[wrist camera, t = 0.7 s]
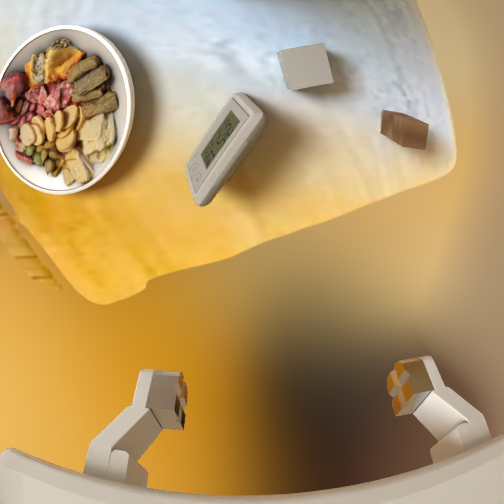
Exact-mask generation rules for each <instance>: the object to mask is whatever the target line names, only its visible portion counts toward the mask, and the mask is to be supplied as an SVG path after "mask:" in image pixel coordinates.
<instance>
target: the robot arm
mask: <svg viewBox="0 0 504 504" xmlns="http://www.w3.org/2000/svg"><path fill="white" fill-rule="evenodd" d="M394 368H395V370H393V371H392V372H391V373H390V374H389V376H388V379H387V388H388V392H389V394H390V395H391V396H392V397H394V398H393V401H392V405H393V409H394V412H395V415H396V416H400V415H405V414H410V413H413V414H414V415H415V416H416V417H417V418H418V420H420V422H421V423H422V424H423V425H424V426H425V427H426V428H427V429H428V430H429V431H430V432H431V433H432V434H433V435H434V436H435V437H436V439H437V440H438V441H439V442H438V443H437V444H435V445H434V446H433V447H432V448H431V450H430V452H431V456H432V460H433V464H432V465H429V466H426V467H423V468H420V469H417V470H413V471H410V472H407V473H404V474H400V475H396V476H392V477H388V478H385V479H381V480H376V481H372V482H367V483H363V484H358V485H353V486H348V487H342V488H335V489H329V490H322V491H314V492H305V493H294V494H281V495H259V496H227V495H226V496H225V495H204V494H191V493H181V492H173V491H165V490H158V489H151V488H147V479H148V472H147V470H146V469H145V468H144V467H142V466H141V465H140V464H139V463H138V462H137V461H138V460H139V459H140V457H141V456H142V455H143V454H144V452H145V451H146V450H147V449H148V447H149V446H150V445H151V444H152V443H153V441H154V440H155V439H156V438H157V436H158V435H159V434H160V432H161V431H162V429H173V430H184V424H185V413H184V410H183V408H184V407H185V406H186V405H187V386H186V383H185V382H183V378H184V376H183V373H182V372H177V371H176V372H175V371H162V370H152V369H142V370H141V372H140V374H139V378H138V382H137V386H136V390H135V395H134V399H133V404H132V406H128V407H127V408H126V409H125V410H124V411H123V412H122V413H121V414H119V416H117V418H115V419H114V420H113V421H112V422H111V423H110V424H109V425H108V426H107V427H106V428H105V429H104V430H103V431H102V432H101V433H100V434H99V435H98V436H97V437H96V438H95V439H93V440H92V441H91V442H90V445H89V450H88V454H87V458H86V462H85V467H84V472H83V473H80V472H77V471H74V470H71V469H67V468H64V467H61V466H58V465H55V464H53V463H50V462H47V461H44V460H42V459H39V458H37V457H34V456H32V455H29V454H27V453H24V452H22V451H20V450H17V449H15V448H8V449H6V450H4V451H3V452H1V453H0V504H504V434H502V435H500V436H498V437H496V438H494V439H492V437H491V435H490V432H489V429H488V426H487V424H486V421H485V419H484V416H483V414H481V413H480V412H479V411H478V410H476V409H475V408H474V407H473V406H471V405H470V404H469V403H468V402H466V401H465V400H464V399H462V398H461V397H460V396H459V395H458V394H456V393H455V392H454V391H453V390H451V389H450V388H449V387H445V386H444V383H443V381H442V379H441V376H440V374H439V372H438V369H437V367H436V365H435V363H434V361H433V358H432V357H431V356H424V357H419V358H413V359H407V360H402V361H398V362H396V364H395V365H394Z"/></svg>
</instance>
